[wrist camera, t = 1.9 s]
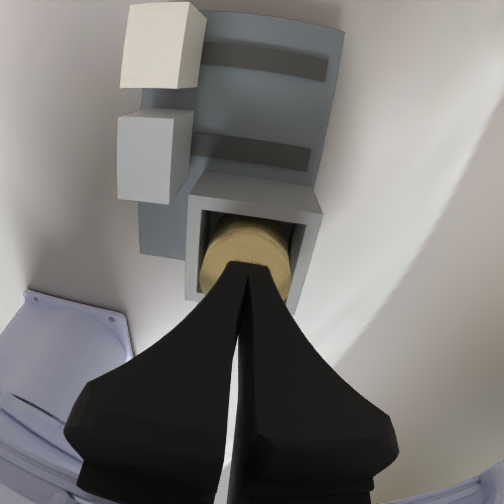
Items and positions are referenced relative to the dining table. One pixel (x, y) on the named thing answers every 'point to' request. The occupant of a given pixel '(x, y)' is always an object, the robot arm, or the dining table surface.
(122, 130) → the grey rectangular block
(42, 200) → the dining table surface
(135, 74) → the cream rectangular prism
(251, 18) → the panel board
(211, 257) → the brass button
